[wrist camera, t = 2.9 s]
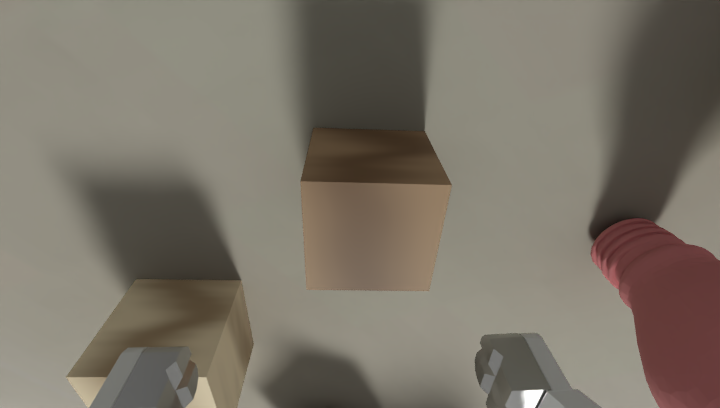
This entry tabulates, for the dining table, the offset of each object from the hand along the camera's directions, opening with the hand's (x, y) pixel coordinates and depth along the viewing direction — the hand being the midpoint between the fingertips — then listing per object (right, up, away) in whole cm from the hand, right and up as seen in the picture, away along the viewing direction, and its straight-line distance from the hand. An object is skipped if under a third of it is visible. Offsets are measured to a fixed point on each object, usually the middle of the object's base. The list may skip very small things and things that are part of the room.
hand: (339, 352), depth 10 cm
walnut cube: (+1, +6, +7) cm, 9 cm away
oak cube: (-10, -3, +12) cm, 16 cm away
